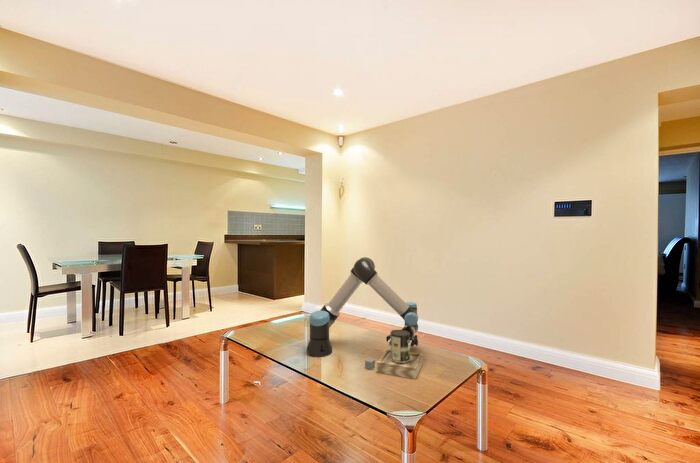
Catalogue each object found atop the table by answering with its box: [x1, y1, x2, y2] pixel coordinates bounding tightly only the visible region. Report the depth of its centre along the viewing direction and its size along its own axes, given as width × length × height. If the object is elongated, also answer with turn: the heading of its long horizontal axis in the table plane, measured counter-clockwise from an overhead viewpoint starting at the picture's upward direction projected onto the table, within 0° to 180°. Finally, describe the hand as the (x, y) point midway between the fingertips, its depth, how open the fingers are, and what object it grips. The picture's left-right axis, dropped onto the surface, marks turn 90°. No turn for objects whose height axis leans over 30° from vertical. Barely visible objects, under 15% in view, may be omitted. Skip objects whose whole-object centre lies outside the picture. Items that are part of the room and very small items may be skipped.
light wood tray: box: [376, 348, 423, 380], centre depth 167 cm, size 20×20×5 cm
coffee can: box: [389, 329, 411, 363], centre depth 167 cm, size 10×10×14 cm
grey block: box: [364, 357, 376, 370], centre depth 167 cm, size 4×4×4 cm
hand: (398, 345), depth 163 cm, fingers closed on coffee can, 10 cm apart
